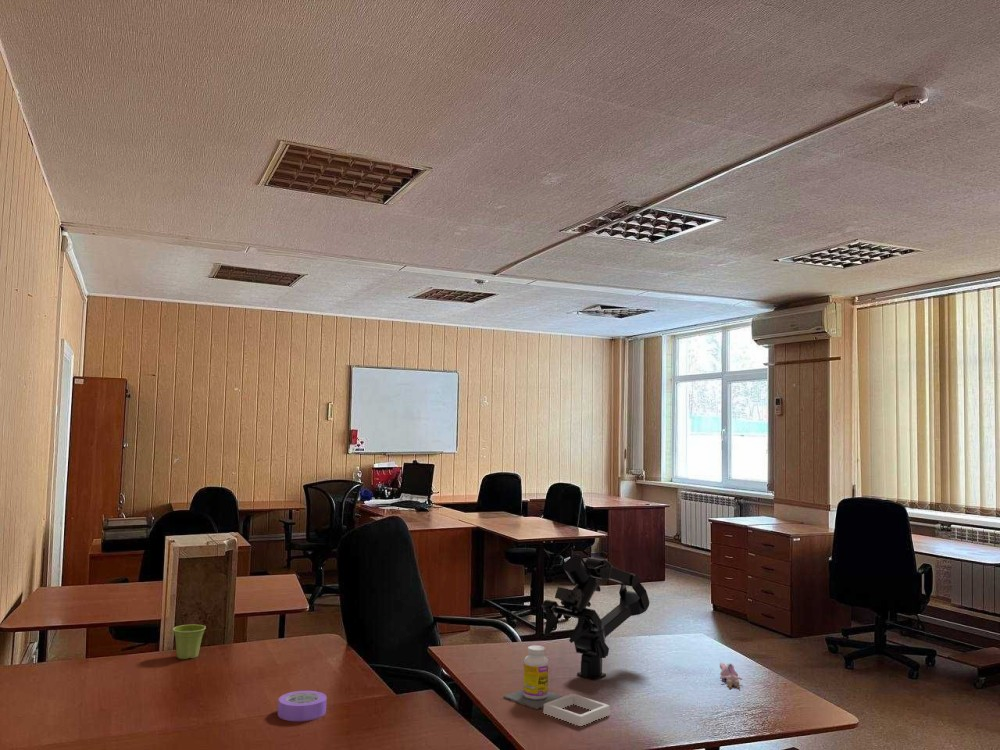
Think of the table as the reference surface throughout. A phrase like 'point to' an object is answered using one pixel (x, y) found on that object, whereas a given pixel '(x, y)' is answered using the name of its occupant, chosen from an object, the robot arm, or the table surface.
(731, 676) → the pink plastic figurine
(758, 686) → the table surface
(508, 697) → the mat
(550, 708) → the holder
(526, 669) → the supplement bottle
